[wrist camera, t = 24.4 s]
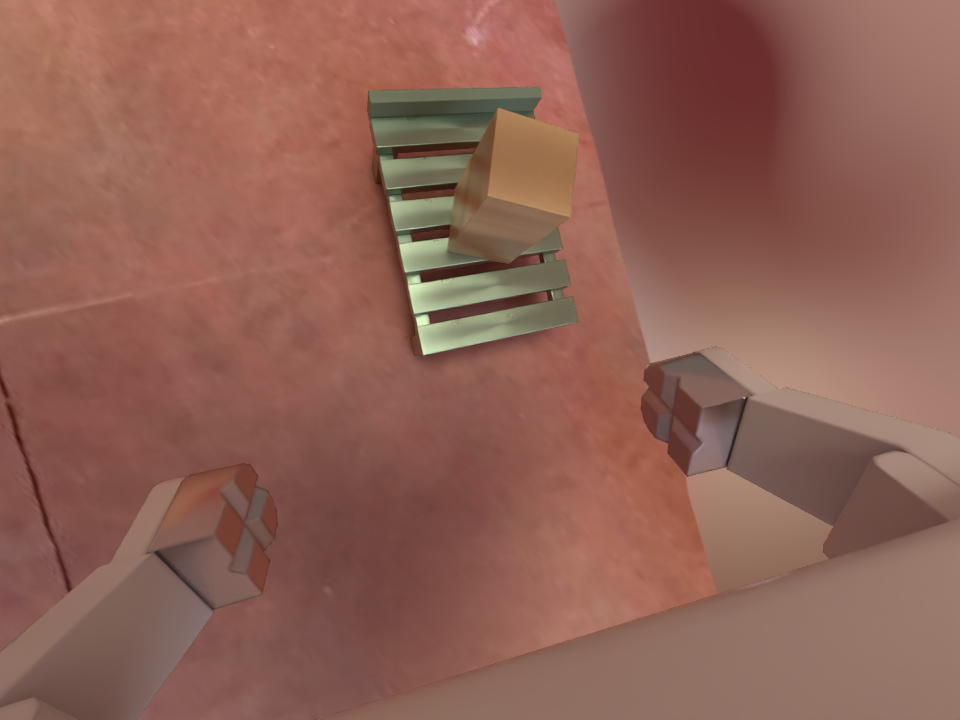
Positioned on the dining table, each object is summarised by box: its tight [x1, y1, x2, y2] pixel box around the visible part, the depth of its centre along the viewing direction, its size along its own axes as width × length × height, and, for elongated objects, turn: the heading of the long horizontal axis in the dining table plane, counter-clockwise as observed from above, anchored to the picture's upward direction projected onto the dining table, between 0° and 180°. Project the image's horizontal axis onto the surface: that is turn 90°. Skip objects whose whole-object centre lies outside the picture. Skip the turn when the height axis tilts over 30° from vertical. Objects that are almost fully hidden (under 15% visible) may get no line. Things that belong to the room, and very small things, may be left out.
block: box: [447, 108, 579, 264], centre depth 25 cm, size 4×4×9 cm
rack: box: [367, 87, 578, 356], centre depth 31 cm, size 17×12×8 cm
